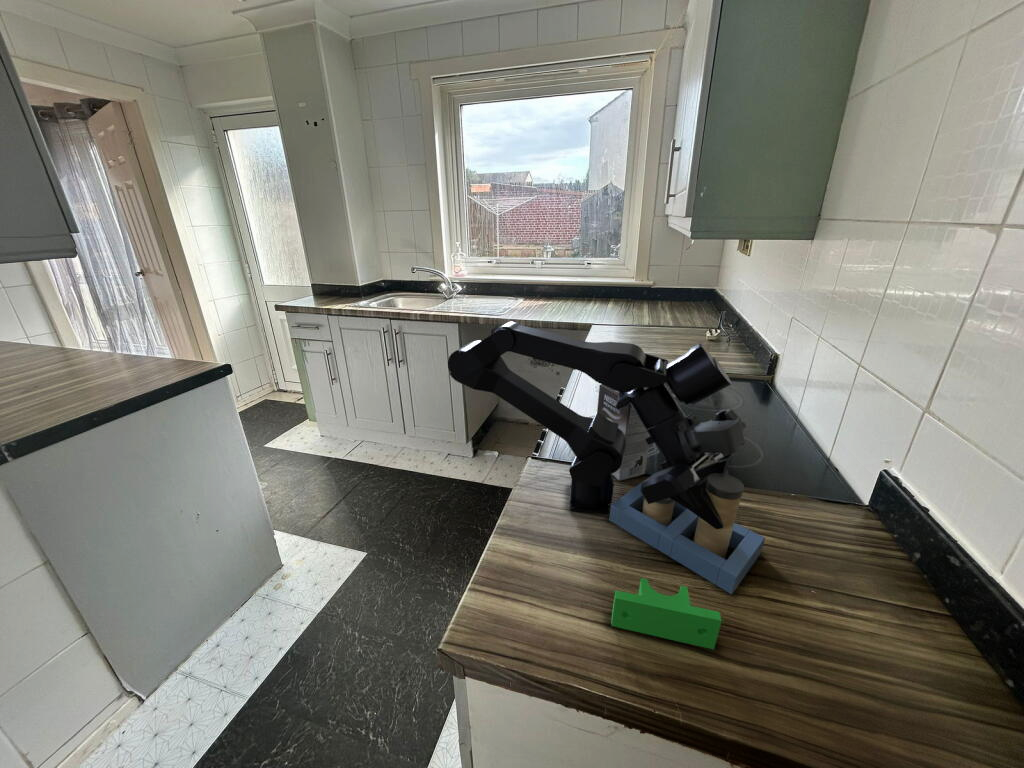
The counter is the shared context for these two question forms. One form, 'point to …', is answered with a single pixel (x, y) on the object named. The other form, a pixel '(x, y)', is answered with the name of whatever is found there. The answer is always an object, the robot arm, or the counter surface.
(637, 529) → the socket block
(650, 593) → the pipe clamp
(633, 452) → the coffee box
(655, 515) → the short wooden cylinder
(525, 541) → the counter surface
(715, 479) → the wooden peg
